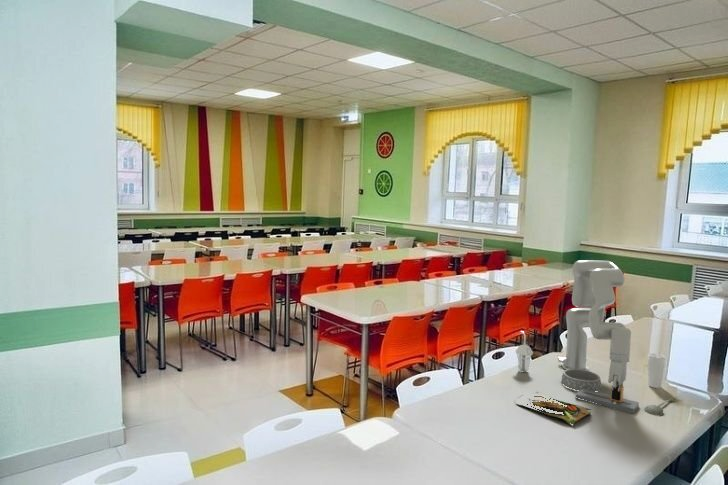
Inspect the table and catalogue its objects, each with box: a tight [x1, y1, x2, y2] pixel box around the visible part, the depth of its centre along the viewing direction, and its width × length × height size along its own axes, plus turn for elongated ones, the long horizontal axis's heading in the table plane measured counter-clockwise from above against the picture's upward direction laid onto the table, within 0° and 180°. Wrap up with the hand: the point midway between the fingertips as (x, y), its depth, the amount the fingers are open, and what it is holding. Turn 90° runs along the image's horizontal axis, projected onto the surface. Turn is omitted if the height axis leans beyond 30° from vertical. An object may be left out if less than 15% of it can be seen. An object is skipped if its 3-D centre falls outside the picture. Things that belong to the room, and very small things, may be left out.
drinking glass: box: [647, 352, 666, 389], centre depth 233 cm, size 7×7×15 cm
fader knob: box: [610, 385, 625, 402], centre depth 212 cm, size 4×3×6 cm
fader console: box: [575, 388, 640, 414], centre depth 215 cm, size 23×9×2 cm, turn 50°
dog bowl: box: [560, 369, 602, 392], centre depth 235 cm, size 17×18×5 cm
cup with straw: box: [514, 330, 534, 372], centre depth 252 cm, size 8×9×20 cm
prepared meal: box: [519, 395, 592, 425], centre depth 208 cm, size 28×4×18 cm
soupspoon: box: [643, 397, 674, 417], centre depth 211 cm, size 22×3×7 cm
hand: (616, 397), depth 212 cm, fingers closed on fader knob, 3 cm apart
